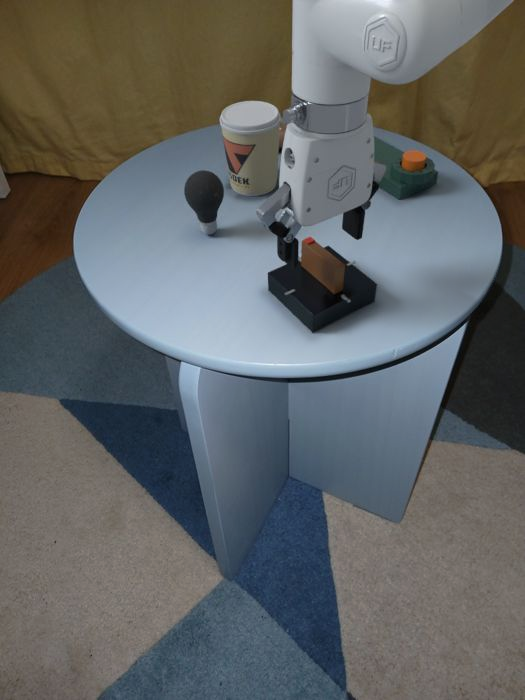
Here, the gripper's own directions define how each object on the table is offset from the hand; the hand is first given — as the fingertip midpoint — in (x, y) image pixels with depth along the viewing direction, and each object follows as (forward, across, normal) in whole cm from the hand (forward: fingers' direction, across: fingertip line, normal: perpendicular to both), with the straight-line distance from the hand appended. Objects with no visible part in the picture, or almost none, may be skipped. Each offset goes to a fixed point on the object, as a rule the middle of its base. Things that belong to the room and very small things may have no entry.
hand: (320, 247), depth 68 cm
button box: (+8, +28, +20) cm, 35 cm away
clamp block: (+8, 0, 0) cm, 8 cm away
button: (+4, +28, +13) cm, 31 cm away
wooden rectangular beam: (+5, 0, 0) cm, 5 cm away
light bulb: (+8, -5, +21) cm, 23 cm away
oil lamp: (+8, +19, +37) cm, 42 cm away
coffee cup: (+8, +8, +29) cm, 31 cm away
